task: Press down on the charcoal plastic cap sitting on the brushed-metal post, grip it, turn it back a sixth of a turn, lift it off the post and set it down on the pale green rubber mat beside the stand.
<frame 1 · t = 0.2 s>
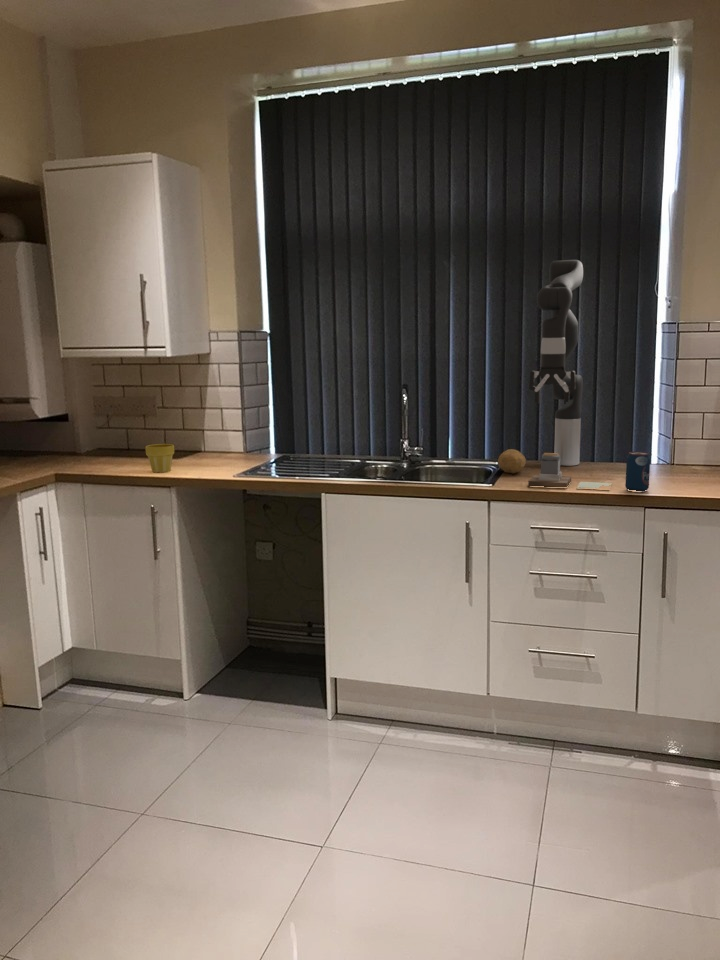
hand: (551, 403, 258), 27 cm above the worktop, tool pointing down, fingers open, 8 cm apart
plant pot: (161, 471, 302), on the worktop
soda can: (636, 491, 253), on the worktop
cap: (550, 472, 264), point 4 cm above the worktop, touching post stand
mat: (594, 487, 260), on the worktop
post stand: (550, 484, 265), on the worktop
potato: (511, 473, 287), on the worktop
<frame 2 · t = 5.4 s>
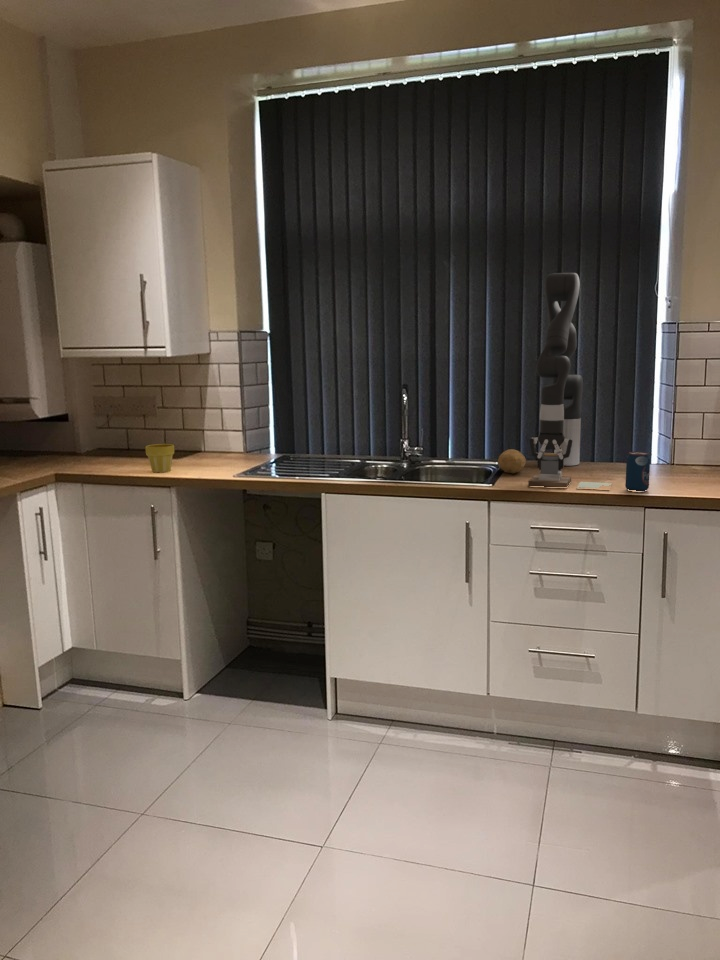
hand: (550, 469, 264), 5 cm above the worktop, tool pointing down, fingers closed on cap, 5 cm apart
cap: (550, 472, 264), point 4 cm above the worktop, touching gripper, post stand
everything else where it was.
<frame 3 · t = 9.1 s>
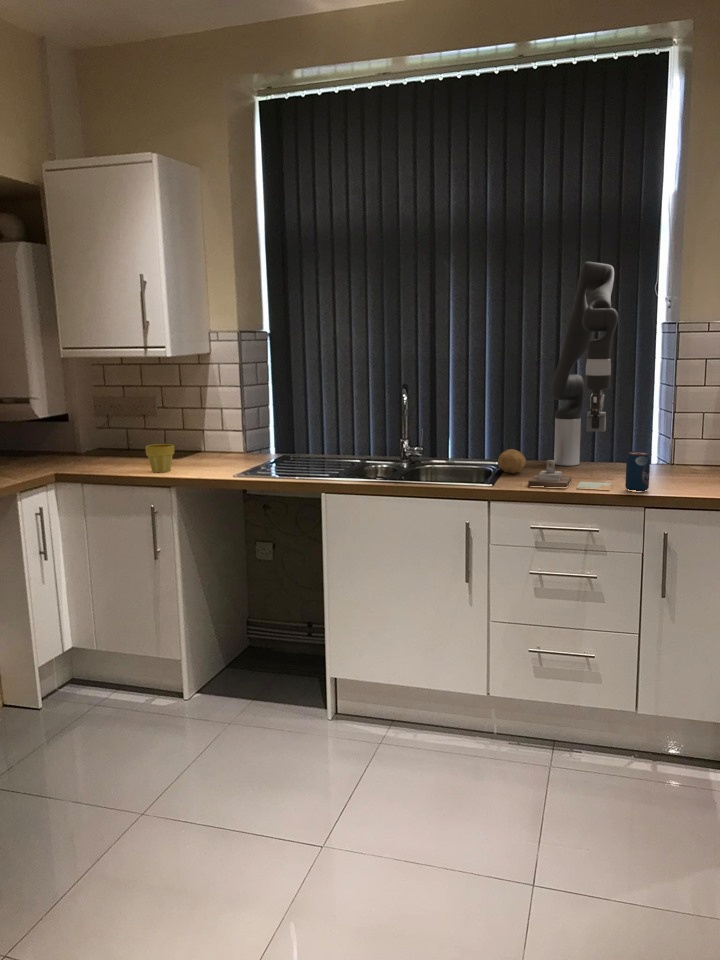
hand: (596, 427, 256), 19 cm above the worktop, tool pointing down, fingers closed on cap, 5 cm apart
cap: (596, 430, 256), point 18 cm above the worktop, touching gripper
everything else where it was.
when the fingers open (3 cm above the worktop, at t = 12.6 s): cap drops 1 cm, resting on mat.
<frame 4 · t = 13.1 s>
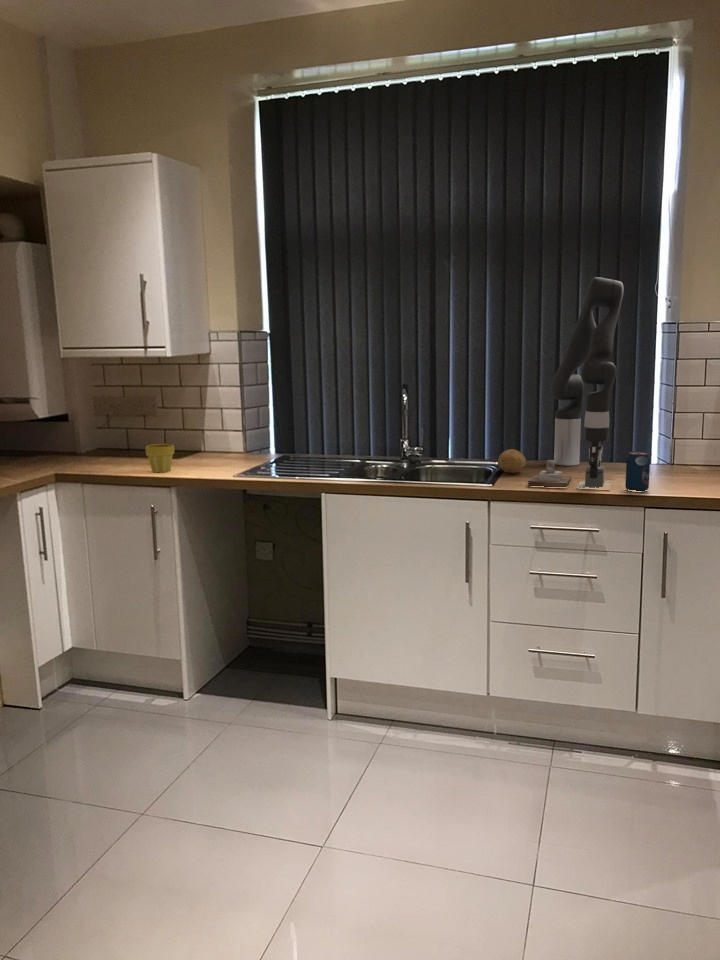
hand: (594, 475, 259), 4 cm above the worktop, tool pointing down, fingers open, 8 cm apart
cap: (594, 485, 260), point 1 cm above the worktop, touching mat
everything else where it was.
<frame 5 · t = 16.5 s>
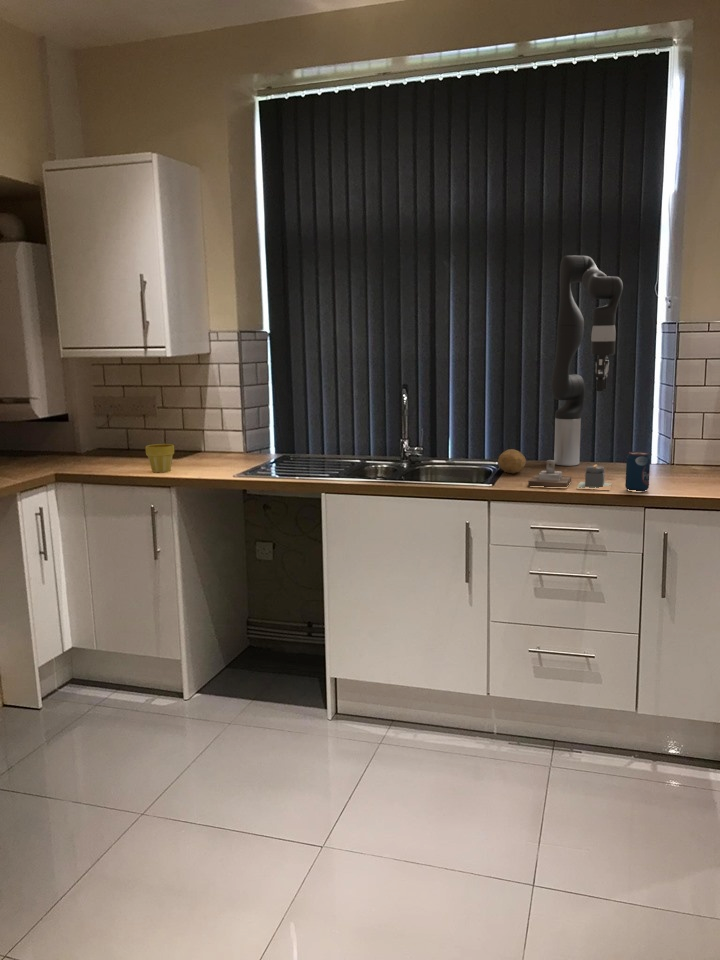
hand: (601, 390, 265), 30 cm above the worktop, tool pointing down, fingers open, 8 cm apart
nothing on the worktop moved.
at the end: cap inside the target area on the mat (0.2 cm from its centre), point 0.6 cm above the mat's base; cap tilted 0°; the gripper is holding nothing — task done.
